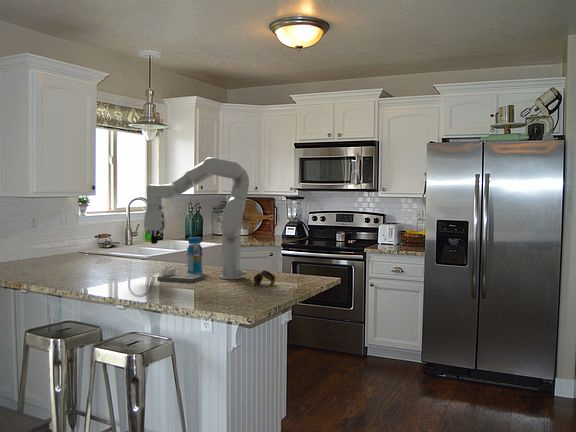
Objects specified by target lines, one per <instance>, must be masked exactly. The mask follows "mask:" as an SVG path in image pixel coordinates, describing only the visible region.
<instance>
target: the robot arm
mask: <svg viewBox="0 0 576 432" xmlns="http://www.w3.org/2000/svg"><path fill="white" fill-rule="evenodd" d="M213 176H217V177H223V178H228V179H231V181H232V186H231V192H230V196H229V200H228V201H227V202H226V205H225V208H224V211H223V216H222V219H221V225H220V230H221V233H222V234H221V235H222V236H221V237H222V240H221V242H222V243H221V247H222V248H221V249H222V250H221V251H222V253H221V254H222V256H221V257H222V258H221V260H222V261H221V262H222V265H221V266H222V268H221V273H222V274H220V275H219V278H220V279H223V280H238V279H239V280H240V279H243V278H244V276H248V273H249V272H248V271H246V270H243V268H241V266H242V265H241V247H242V246H241V245H242V244H241V231H242V228H241V227H242V226H241V225H242V221H243V217H244V212H245V209H246V202H247V198H248V193H249V187H250V178H249V174H248V172H247V171H246V170H245V168H243V166H241V165H240V164H239V163H238V162H236V161H231V160H226V159H220V158H217V157H213V156H210V157H206V158H205V159H204V160H203V161H202V162H200V163H199V164H198V165H195V166H193V167H191V168H190V169H189V170H187V171H186V172H185V173H184V174H183V175H181V177H180V178H178V179H175V180H174V181H172V182H170V183H167V184H166V183H165V184H156V183H155V184H154V183H153V184H147V185H146V210H145V213H144V220H143V221H144V222H143V224H144V225H143V227H144V232H145V233H147V234H149V236H150V243H151V244H153V245H155V244H158V242H159V241H158V239H159V237H158V236H159V235H160V234H161V233H164V232H165V229H166V219H165V213H164V210H163V209H164V208H165V206H163V205H162V203H163V202H162V200H163V199H166V200H167V199H168V200H170V199H174V198H176V197H178V196H180V195H182V194H184V193H185V192H187V191H188V190H190V189H191V188H195V186H197V185H198V184H200V183H202V182H204V181H206V180H207V179H209V178H211V177H213Z"/></svg>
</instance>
